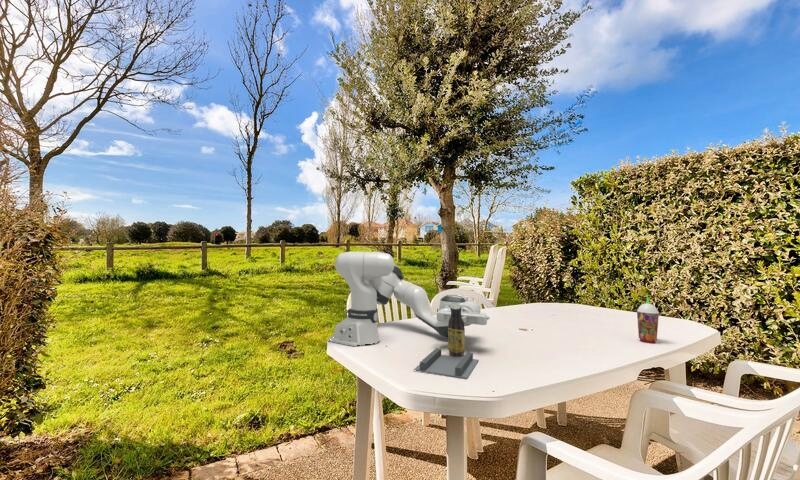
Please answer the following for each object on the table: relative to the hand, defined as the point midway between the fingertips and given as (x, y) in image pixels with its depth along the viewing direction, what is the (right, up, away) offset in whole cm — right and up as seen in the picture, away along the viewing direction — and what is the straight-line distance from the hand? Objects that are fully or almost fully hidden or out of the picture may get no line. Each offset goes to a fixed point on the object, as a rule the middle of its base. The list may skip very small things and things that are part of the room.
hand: (457, 320), depth 141 cm
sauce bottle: (0, -12, +1) cm, 12 cm away
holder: (-6, -13, -13) cm, 19 cm away
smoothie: (+90, -15, +24) cm, 94 cm away
